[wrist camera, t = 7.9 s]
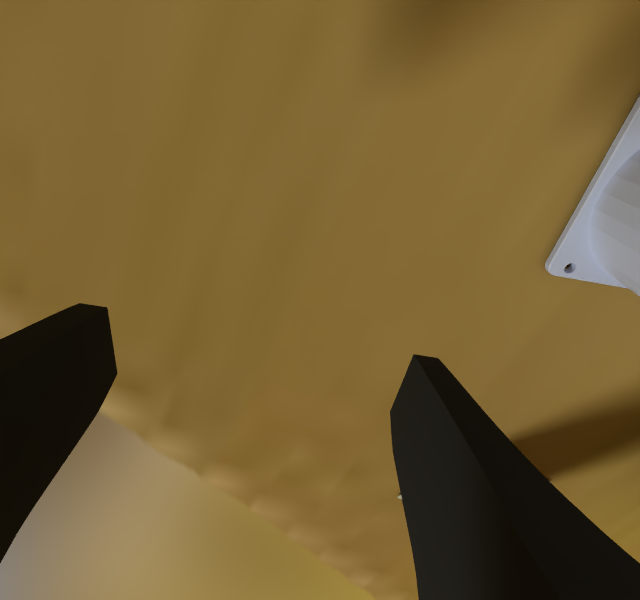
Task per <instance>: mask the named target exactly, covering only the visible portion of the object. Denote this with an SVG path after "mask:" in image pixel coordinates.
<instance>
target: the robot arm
mask: <svg viewBox="0 0 640 600" xmlns="http://www.w3.org/2000/svg"><path fill="white" fill-rule="evenodd" d="M570 263H571V266H570V267H569V268H567V269H564V268H565V267H566V266H567V265H568V264H570ZM545 269H546V270H547V271H548V272H549V273H550V274H552V275H555V276H561V277H566V278H572V279H578V280H583V281H589V282H595V283H600V284H606V285H612V286H618V287H623V288H629V289H630V290H632V291H633V292H634V293H636V294H637V295H638V296H640V95H639V97H638V99H637V101H636V102H635V104H634V106H633V108H632V110H631V111H630V113H629V115H628V117H627V118H626V120H625V122H624V124H623V126H622V127H621V129H620V131H619V133H618V134H617V136H616V138H615V140H614V142H613V143H612V145H611V147H610V149H609V151H608V152H607V154H606V156H605V158H604V159H603V161H602V163H601V165H600V167H599V168H598V170H597V172H596V174H595V175H594V177H593V179H592V181H591V183H590V184H589V186H588V188H587V190H586V192H585V193H584V195H583V197H582V199H581V200H580V202H579V204H578V206H577V208H576V209H575V211H574V213H573V215H572V216H571V218H570V220H569V222H568V224H567V225H566V227H565V229H564V231H563V233H562V234H561V236H560V238H559V240H558V241H557V243H556V245H555V247H554V249H553V250H552V252H551V254H550V256H549V257H548V259H547V261H546V264H545ZM116 375H117V368H116V362H115V355H114V348H113V342H112V335H111V329H110V322H109V316H108V309H107V307H101V306H94V305H88V304H81V303H79V304H77V305H74V306H72V307H69V308H67V309H64V310H62V311H60V312H58V313H56V314H53V315H51V316H49V317H47V318H45V319H43V320H41V321H38V322H36V323H34V324H32V325H30V326H28V327H26V328H24V329H22V330H19V331H17V332H15V333H13V334H11V335H9V336H7V337H5V338H2V339H0V563H1V561H2V559H3V557H4V556H5V554H6V552H7V550H8V548H9V547H10V545H11V543H12V541H13V539H14V538H15V536H16V534H17V533H18V531H19V529H20V528H21V526H22V524H23V523H24V521H25V520H26V518H27V517H28V515H29V513H30V512H31V510H32V509H33V507H34V506H35V504H36V503H37V501H38V500H39V498H40V497H41V496H42V494H43V493H44V491H45V490H46V488H47V487H48V485H49V484H50V482H51V481H52V479H53V478H54V477H55V475H56V474H57V472H58V471H59V469H60V468H61V466H62V464H63V463H64V462H65V460H66V459H67V457H68V456H69V455H70V453H71V452H72V450H73V449H74V447H75V446H76V444H77V443H78V441H79V440H80V438H81V437H82V435H83V434H84V433H85V431H86V429H87V428H88V427H89V425H90V424H91V422H92V421H93V419H94V417H95V416H96V414H97V413H98V411H99V409H100V407H101V405H102V403H103V402H104V400H105V398H106V396H107V394H108V392H109V390H110V388H111V386H112V384H113V382H114V379H115V377H116ZM390 417H391V434H392V446H393V455H394V460H395V465H396V471H397V476H398V481H399V486H400V491H401V496H402V501H403V506H404V511H405V516H406V521H407V526H408V531H409V536H410V541H411V546H412V552H413V558H414V564H415V571H416V578H417V587H418V597H419V600H640V563H638V562H637V561H636V560H635V559H634V558H632V557H631V556H630V555H629V554H628V553H627V552H625V551H624V550H623V549H622V548H621V547H620V546H618V545H617V544H616V543H615V542H614V541H613V540H612V539H610V538H609V537H608V536H607V535H606V534H605V533H604V532H602V531H601V530H600V529H599V528H598V527H597V526H596V525H595V524H594V523H593V522H592V521H591V520H589V519H588V518H587V517H586V516H585V515H584V514H583V513H582V512H581V511H580V510H579V509H578V508H577V507H575V506H574V505H573V504H572V503H571V502H570V501H569V500H568V499H567V498H566V497H565V496H564V495H563V494H562V493H561V492H559V491H558V490H557V489H556V488H555V487H554V486H553V485H552V484H551V483H550V482H549V481H548V480H547V479H546V478H545V477H544V476H543V475H542V474H541V473H540V472H539V471H538V469H537V468H536V467H535V466H534V465H533V464H532V463H531V462H530V461H529V460H528V459H527V458H526V457H525V456H524V455H523V454H522V453H521V452H520V451H519V450H518V449H517V448H516V446H515V445H514V444H513V443H512V442H511V441H510V440H509V439H508V438H507V437H506V436H505V435H504V433H503V432H502V431H501V430H500V429H499V428H498V427H497V426H496V424H495V423H494V422H493V421H492V420H491V419H490V418H489V417H488V415H487V414H486V413H485V412H484V411H483V410H482V408H481V407H480V406H479V405H478V404H477V403H476V401H475V400H474V399H473V398H472V397H471V396H470V394H469V393H468V392H467V391H466V390H465V389H464V387H463V386H462V385H461V384H460V383H459V381H458V380H457V379H456V378H455V377H454V376H453V374H452V373H451V372H450V371H449V370H448V369H447V368H446V366H445V365H444V364H443V363H442V362H441V361H440V360H439V359H438V358H434V357H427V356H421V355H413V357H412V360H411V362H410V365H409V367H408V369H407V372H406V374H405V377H404V379H403V382H402V384H401V387H400V389H399V391H398V394H397V396H396V399H395V401H394V404H393V406H392V408H391V411H390Z"/></svg>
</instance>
